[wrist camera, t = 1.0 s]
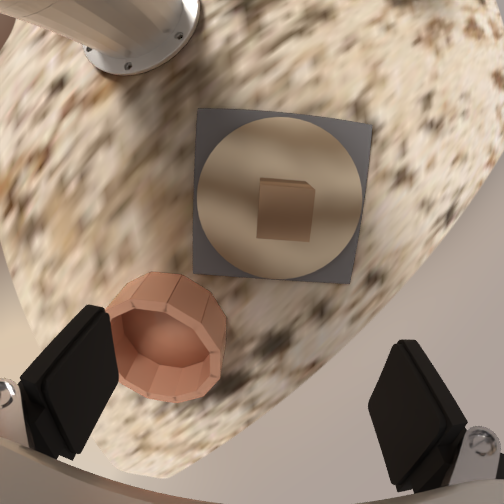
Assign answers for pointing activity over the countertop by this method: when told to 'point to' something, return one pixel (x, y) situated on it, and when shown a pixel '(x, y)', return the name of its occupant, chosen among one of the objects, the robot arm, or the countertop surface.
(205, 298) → the bowl
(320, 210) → the lid
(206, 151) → the mat
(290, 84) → the countertop surface
